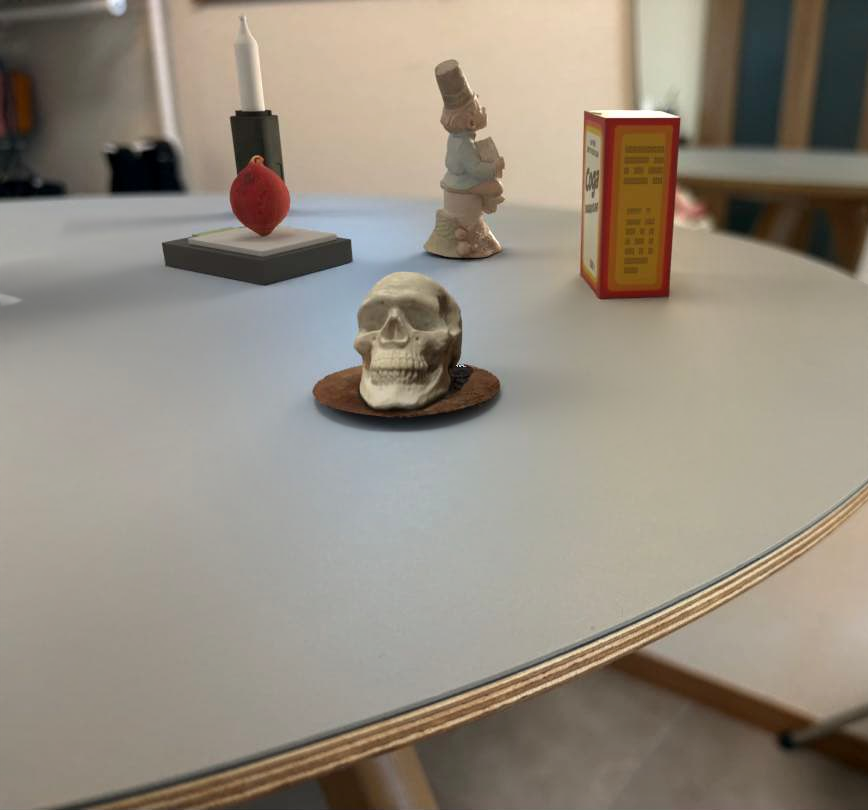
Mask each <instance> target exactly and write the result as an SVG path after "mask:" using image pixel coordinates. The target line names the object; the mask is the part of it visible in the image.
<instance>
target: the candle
mask: <svg viewBox="0 0 868 810" xmlns="http://www.w3.org/2000/svg"><path fill="white" fill-rule="evenodd" d="M238 18H239V25H238V31H237V35H236V37H235V40H234V42H233V50H234V51H233V52H234V58H235V67H236V74H237V83H238V91H239V98H240V107H241V109H236V110H234V114H235V115H230V116H229V120H230V121H229V122H230V129H231V131H230V132H231V138H232V147H233V153H234V154H233V155H234V162H235V168H236V169H235V170H236V177H237V176H238V174H239V173H240V172H241V171H242V170H243V169H244V168H246V167H247V165H248V164H249V162H250V160H251V159H252V158H253V157H254V156H258V155H259V156H260V157H262V158H263V159H264V161H263V164H264V166H266V167H267V168H269V169H271V170H272V171H273V172H275V173H276V174H277V175H278V176H279V177H280V178H281V179H282V180H283V182H284V183H285V184H286V179H285V170H284V160H283V159H284V158H283V151H282V141H281V133H280V123H279V115H277V114H273V110H272V109H266V108H265V99H264V98H265V97H264V90H263V80H262V79H263V78H262V73H261V71H262V70H261V62H260V52H259V45H258V42H257V41H256V39H255V38H254V36H253V35H252V33H251V31H250V28H249V26H248V23H247V21H246V20H247V16H246V15H245V14H244V13H240V14H239V15H238Z"/></svg>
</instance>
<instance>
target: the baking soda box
mask: <svg viewBox="0 0 868 810" xmlns="http://www.w3.org/2000/svg"><path fill="white" fill-rule="evenodd" d="M681 119H682V118H681V117H680V116H678V115H674V114H671V113H668V112H664V111H660V110H659V111H658V110H656V111H655V110H625V109H624V110H623V109H622V110H621V109H598V110H584V111H583V137H582V143H583V144H582V175H581V176H582V178H581V179H582V183H581V217H580V219H581V221H580V223H581V224H580V230H581V231H580V258H579V259H580V263H579V264H580V265H579V274H580V276H581V277H582V278H583V279H584V281H585V282H586V283H587V285H588V286H589V287H590V288H591V289H592V291H593V292H594V294H595V295H596V296H597V298H598V299H600V300H601V299H602V300H603V299H626V298H660V297H663V298H664V297H670V285H671V284H670V283H671V271H672V270H671V269H672V257H673V256H672V254H673V242H674V241H673V239H674V227H675V226H674V225H675V211H676V209H675V207H676V193H677V179H678V165H679V163H678V162H679V148H680V133H681V131H680V130H681Z"/></svg>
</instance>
